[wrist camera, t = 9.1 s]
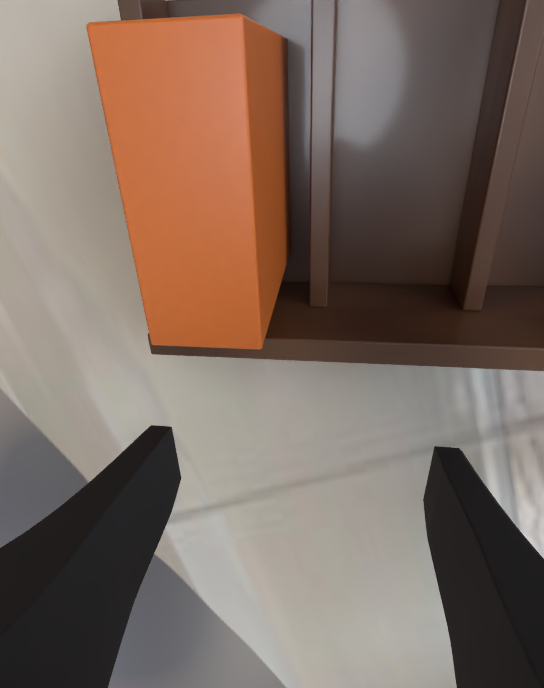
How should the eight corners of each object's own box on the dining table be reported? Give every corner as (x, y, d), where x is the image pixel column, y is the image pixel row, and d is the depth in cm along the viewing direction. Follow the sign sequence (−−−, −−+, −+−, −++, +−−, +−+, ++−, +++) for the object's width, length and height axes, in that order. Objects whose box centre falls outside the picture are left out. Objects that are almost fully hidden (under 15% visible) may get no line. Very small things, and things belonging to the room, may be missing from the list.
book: (287, 34, 15) (242, 5, 8) (290, 250, 19) (262, 350, 12) (195, 39, 16) (82, 16, 9) (217, 250, 20) (150, 346, 13)
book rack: (716, -31, 14) (935, -90, 9) (595, 297, 19) (685, 378, 14) (157, 5, 16) (71, -24, 11) (195, 288, 22) (150, 355, 17)
